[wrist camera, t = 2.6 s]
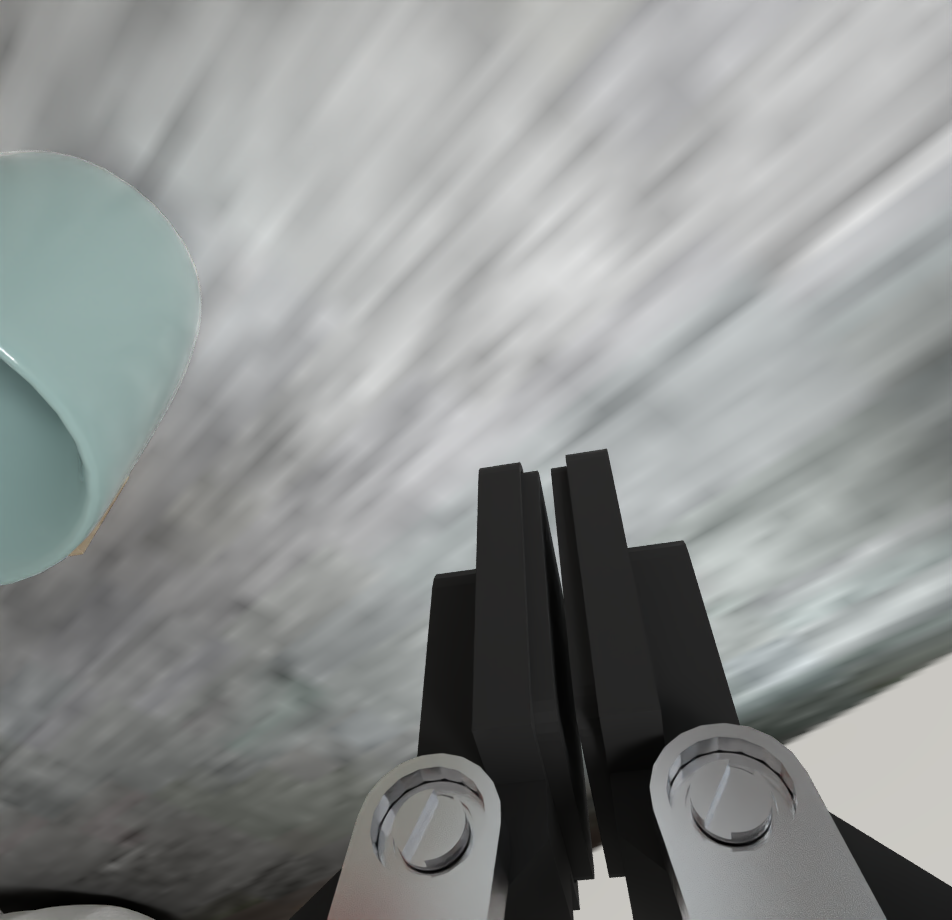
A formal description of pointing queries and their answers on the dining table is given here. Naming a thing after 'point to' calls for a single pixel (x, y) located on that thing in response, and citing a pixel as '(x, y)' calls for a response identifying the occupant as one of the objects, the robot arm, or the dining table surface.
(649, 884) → the robot arm
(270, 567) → the dining table surface
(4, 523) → the cup
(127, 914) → the decorative rooster
